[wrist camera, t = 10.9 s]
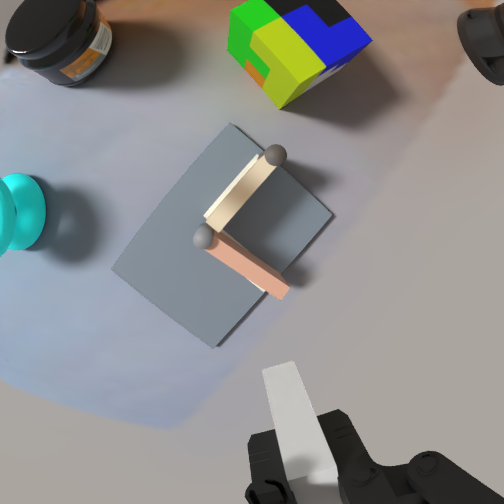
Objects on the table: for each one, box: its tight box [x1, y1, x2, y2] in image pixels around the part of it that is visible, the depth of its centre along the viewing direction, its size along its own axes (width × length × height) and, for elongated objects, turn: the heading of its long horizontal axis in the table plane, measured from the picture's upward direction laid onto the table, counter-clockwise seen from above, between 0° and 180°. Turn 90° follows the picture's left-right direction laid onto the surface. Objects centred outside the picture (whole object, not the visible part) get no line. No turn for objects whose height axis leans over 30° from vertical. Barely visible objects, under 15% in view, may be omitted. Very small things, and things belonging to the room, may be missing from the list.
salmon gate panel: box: [193, 223, 290, 300], centre depth 33 cm, size 11×2×7 cm, turn 54°
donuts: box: [0, 173, 46, 257], centre depth 28 cm, size 10×10×10 cm
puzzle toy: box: [227, 0, 373, 109], centre depth 28 cm, size 10×10×10 cm
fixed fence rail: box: [206, 144, 287, 233], centre depth 32 cm, size 10×2×7 cm, turn 139°
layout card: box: [111, 123, 332, 348], centre depth 36 cm, size 22×16×1 cm
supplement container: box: [5, 0, 114, 86], centre depth 24 cm, size 10×10×12 cm
